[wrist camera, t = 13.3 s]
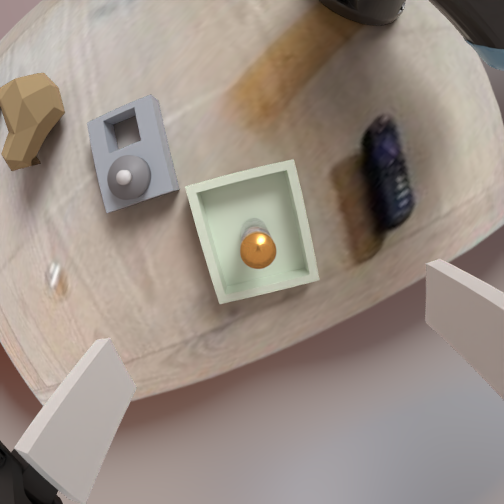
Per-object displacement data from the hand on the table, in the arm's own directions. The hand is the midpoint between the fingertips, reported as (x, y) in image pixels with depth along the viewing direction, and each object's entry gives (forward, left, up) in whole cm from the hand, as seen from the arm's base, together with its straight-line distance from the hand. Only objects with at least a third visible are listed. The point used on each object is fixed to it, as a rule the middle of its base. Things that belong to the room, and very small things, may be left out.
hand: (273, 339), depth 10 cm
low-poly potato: (-24, -26, -25) cm, 43 cm away
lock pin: (0, 0, -24) cm, 24 cm away
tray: (0, 0, -25) cm, 25 cm away
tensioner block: (-13, -12, -25) cm, 30 cm away
